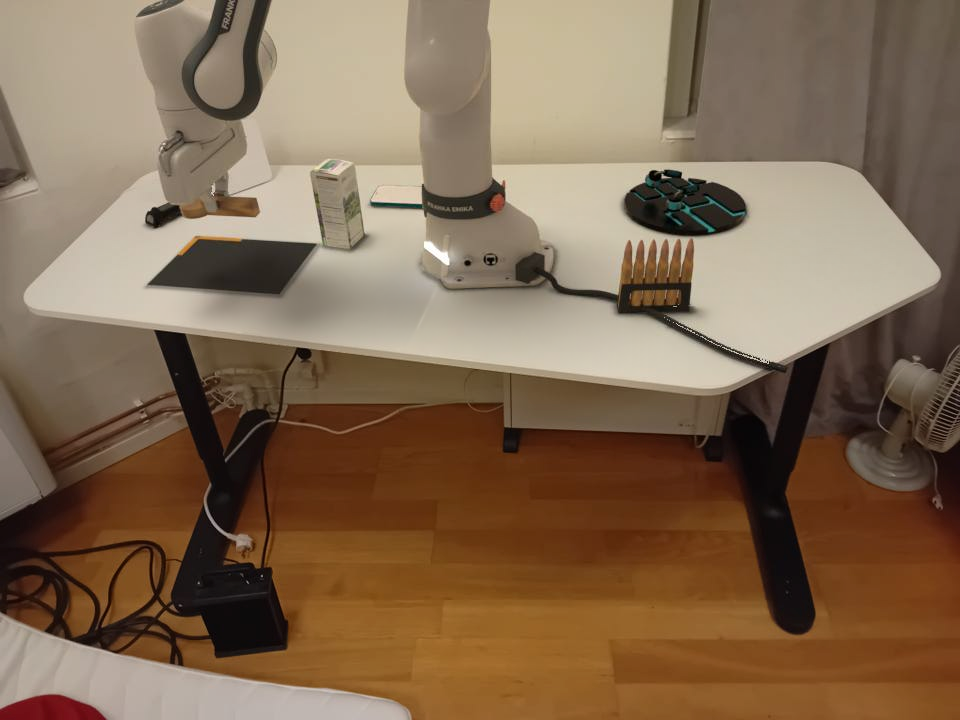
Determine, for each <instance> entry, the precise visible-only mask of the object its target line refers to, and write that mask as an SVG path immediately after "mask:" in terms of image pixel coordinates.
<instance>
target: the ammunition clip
mask: <svg viewBox="0 0 960 720" xmlns="http://www.w3.org/2000/svg"><path fill="white" fill-rule="evenodd" d="M657 248H658V247H657V241H656V239H655V238H654V239H652V241H651V242H650V244H649V248H648V253H647V260H646V262H645V242H644V240H643V239H640V241H639V242H638V245H637V247H636V252H635V259H634V263H633V244H632V241H631V239H628V240H627V241H626V244H625V247H624V251H623V253H624V254H623V257H622V259H623V260H622V264H621V269H620V270H621V271H620V279H619V286H618V292H617V293H618V294H617V295H618V300H617V301H616V309H617V313H618V314H647V313H646V312H643V311H642V310H641V308H642V307H645V306H647V307H651V308H653V309H655V310H657V311H659V312H661V313H688V312H690V306H688V305H691V294H692V279H693V272H694V255H695V242H694V239H693V238H692V237H691V238H689V240H688V241H687V245H686V248H685V253H684V257H683V261H682V241H681V239H680V238H677V240H676V242H675V243H674V246H673V250H672V256H671V260H670V263H669V258H670V257H669V256H670V255H669V254H670V245H669V240H668V239H667V238H665V239H664V241H663V242H662V244H661V249H660V252H659V253H660V254H659V259H658V263H657V254H658V249H657ZM641 304H643V305H645V306H640V305H641ZM678 304H679V305H678ZM629 305H630V306H629ZM673 306H677V307H673Z"/></svg>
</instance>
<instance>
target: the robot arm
mask: <svg viewBox="0 0 960 720" xmlns="http://www.w3.org/2000/svg"><path fill="white" fill-rule="evenodd" d="M272 3H273V0H215V1H214V5H213V9H212V12H211V11H208V10H205V9H203V8H201V7H199V6H198V5H195V4H194V3H192V2H191V1H189V0H159V1H156V2H154V3H152V4H150V5H148V6H146V7H144V8H143V9H141V10H140V11H139V13H137V14H136V16H135V18H134V23H133V25H134V34H135V40H136V44H137V48H138V52H139V55H140V59H141V63H142V67H143V70H144V72H145V75H146V78H147V79H148V80H149V82H150V84H151V85H152V89H153V91H154V103H155V107H156V111H157V113H158V116H159V119H160V123H161V125H162V128H163V131H164V135H165V137H166V139H165V140H164V141H162V142H161V143H160V145H159V146H160V148H159V153H158V154H157V158H156V166H157V171H158V176H159V180H160V181H159V182H160V185H161V189H162V193H163V196H164V198H165V201H167V203H170V204H172V205H191V204H192V203H193V202H194V201H195V200H196V199H197V198H200V199H201V200H202V201H203V202H204V205H205V208H206V210H207V211H208V212H216V211H217V210H218V209H219V208H220V207H221V206H220V204H219V199H218V198H214V197H213V195H212V194H211V192H212V187H211V186H212V185H214V186H215V192H214V193H213V194H214V196H228V197H231V196H230V193H229V180H230V179H229V178H230V176H229V171H230V170H231V169H232V168H233V167H234V166H235V165H236V164H237V163H239V162H240V161H241V160H242V159H243V158H244V157H245V156H247V152H248V151H247V150H248V143H247V138H246V137H247V136H246V132H245V128H244V125H243V121H242V119H243V120H244V119H245V118H247V117H249V116H250V115H251V114H252V113H254V112H255V111H256V109H257V108H258V106H259V103H260V100H261V98H262V94H263V93H264V90H265V89H266V87H267V85H268V83H269V81H270V80H271V78H272V76H273V74H274V71H275V70H276V67H277V62H278V54H277V48H276V46H275V44H274V40H273V38H271V37H272V36H270V34H269V33H268V32H267V31H266V30H265V28H266V23H267V20H268V16H269V14H270V10H271V6H272ZM490 7H491V0H408V3H407V16H406V30H405V47H404V48H405V49H404V67H403V68H404V69H403V78H404V86H405V89H406V92H407V94H408V96H409V98H410V100H411V101H412V102H413V103H414V104H415V106H417V107H418V108H419V112H420V113H419V133H418V134H419V135H418V140H419V150H420V161H421V170H422V171H421V172H422V179H423V180H422V181H423V183H422V184H421V186H422V193H421V196H422V207H423V208H422V210H423V216H424V218H425V239H424V246H423V247H424V249H423V253H422V258H421V264H422V268H423V269H424V270H425V271H426V272H427V273H428V274H430V275H432V276H433V277H436V278H438V279H439V281H440V282H441V283H442V284H443V286H444V287H445V288H446V289H450V290H451V289H453V290H454V289H479V288H481V289H482V288H508V287H531V286H537V285H539V284H541V283H543V281H545V280H547V281H549V282H550V284H551V286H552V288H553V289H554V290H555V291H557V292H559V293H561V294H564V295H570V296H580V297H600V298H603V299H608V300H610V301H614V302H617V300H618V294H616V293H614V292H613V293H612V292H608V291H605V290H600V289H573V288H567V287H565V286H563V285H561V284H559V283H558V280H557V278H556V277H555V276H554V275H552V274H551V272H552V269H553V266H554V262H555V261H554V260H555V259H554V258H555V254H554V249H553V246H552V245H551V243H550V242H549V241H548V240H546V239H541V237H540V232H539V231H540V230H539V228H538V225H537V223H536V221H535V220H534V218H533V217H531V216H529V215H527V214H526V213H524V212H523V211H521V210H520V209H518V208H517V207H516V206H514V205H512V204H511V203H510V202H508V201H507V200H506V196H507V195H506V180H505V179H504V180H503V181H502V183H501V184H500V183H499V182H498V181H497V180H496V179H495V178H494V177H493V160H492V159H493V157H492V134H491V133H492V131H491V130H492V129H491V127H492V41H491V36H490V31H489V29H488V26H489V15H490ZM629 306H630V305H629ZM640 306H645V305H643V304H641V305H640ZM641 310H642V311H643V312H646V313H645V314H648V315H649V316H652V317H654V318H656V319H658V320H660V321H661V322H664V323H665V324H668V325H669V326H671V327H673V328H675V329H677V330H678V331H680V332H683V333H684V334H687V335H688V336H690V337H692V338H694V339H696V340H698V341H700V342H701V343H703V344H705V345H707V346H710V347H711V348H713V349H715V350H718V351H720V352H722V353H724V354H727V355H728V356H730V357H734V358H736V359H738V360H740V361H741V360H742V361H745V362H747V363H750V364H754V365H756V366H760V367H763V368H767V369H771V370H774V371H776V372H780V373H783V374H786V373H787V371H788V369H789V366H788V365H785V364H782V363H779V362H775V361H772V362H770V361H771V360H769V364H767V363H768V361H767V363H763V362H760V361H761V360H760V358H761V357H758V356H755V355H752V354H749V353H746V352H743V351H741V350H738V349H735V348H733V349H731V348H732V347H730V346H728V345H726V346H725V344H723V343H721V342H719V341H717V340H715V339H713V338H711V337H709V336H707V335H705V334H704V333H701V332H700V331H698V330H696V329H694V328H692V327H690V328H689V326H688V325H686V326H685V324H684V323H682V322H680V321H678V320H676V319H674V318H672V317H671V316H669V315H667V314H666V313H664V312H659V311H657V310H655V309H653V308H651V307H647V306H645V307H642V308H641ZM664 317H665V318H664ZM667 319H668V320H667ZM669 320H670V321H669ZM673 322H674V323H673ZM679 322H680V323H679ZM676 323H677V324H678V325H680V326H683V327H684V328H686V329H687V328H688V329H689V330H692V332H695V334H694V333H692V332H690V331H688V330H686V329H684V328H682V327H680V326H678V325H677V324H676ZM681 323H682V324H681ZM687 326H688V327H687ZM691 328H692V329H691ZM693 329H694V330H693ZM696 334H698V335H699V336H698V335H696ZM700 336H703V337H704V338H706V339H707V340H709V341H712V342H713V343H715V344H717V345H720V346H721V345H722V346H721V347H720V346H717V345H715V344H713V343H711V342H709V341H707V340H705V339H704V338H702V337H700ZM708 337H709V338H708ZM716 341H717V342H716ZM718 342H719V343H718ZM727 346H728V347H727ZM722 347H725V348H727V349H730V350H732V351H735V352H737V353H739V354H742V355H743V354H744V355H747V356H749V357H752V356H753V358H756V359H758V360H760V361H757V360H754V359H750V358H747V357H744V356H742V355H739V354H736V353H734V352H731V351H729V350H726V349H724V348H722ZM737 350H738V351H737ZM742 352H743V353H742ZM745 353H746V354H745ZM748 354H749V355H748ZM751 355H752V356H751ZM754 356H755V357H754ZM757 357H758V358H757ZM763 359H764V358H762V360H763ZM766 360H767V359H765V361H766ZM779 366H780V367H779Z"/></svg>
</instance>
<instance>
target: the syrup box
mask: <svg viewBox="0 0 960 720" xmlns="http://www.w3.org/2000/svg"><path fill="white" fill-rule="evenodd" d="M355 164H356V163H354V162H352V161H348V160H345V159H337V158H326V159H324V160H323V161H322V162H321V163H320V164H318V165H316V167H314V168H313V169H312V170H310V172H309V176H310V182H311V187H312V193H313V198H314V204H315V209H316V215H317V219H318V220H317V221H318V226H319V231H320V236H321V241H322V245H323V246H325V247H326V246H327V247H334V248H341V249H349V250H350V249H352V248H353V247H354V246H355V245H356V244H357V243H358V242H359V241H361V239H362V238H364V236H365V227H364V220H363V212H362V206H361V197H360V192H359V185H358V177H357V171H356V165H355Z"/></svg>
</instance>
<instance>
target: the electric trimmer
mask: <svg viewBox="0 0 960 720" xmlns="http://www.w3.org/2000/svg"><path fill="white" fill-rule="evenodd" d="M179 214H182V213H181V210H180V205H172V204H170V203H169V202H166V203H164V204H162V205H159V206H152V208H151V209H150V210H147V212H146V214H145V218H144V222H145V224H146V226H149V227H151V228H153V229H154V228H155V227H157V228H158V227H160V225H161V223H162V222H164V221H166V220H169V219H171V218H172V217H175V216H176V215H179Z"/></svg>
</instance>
